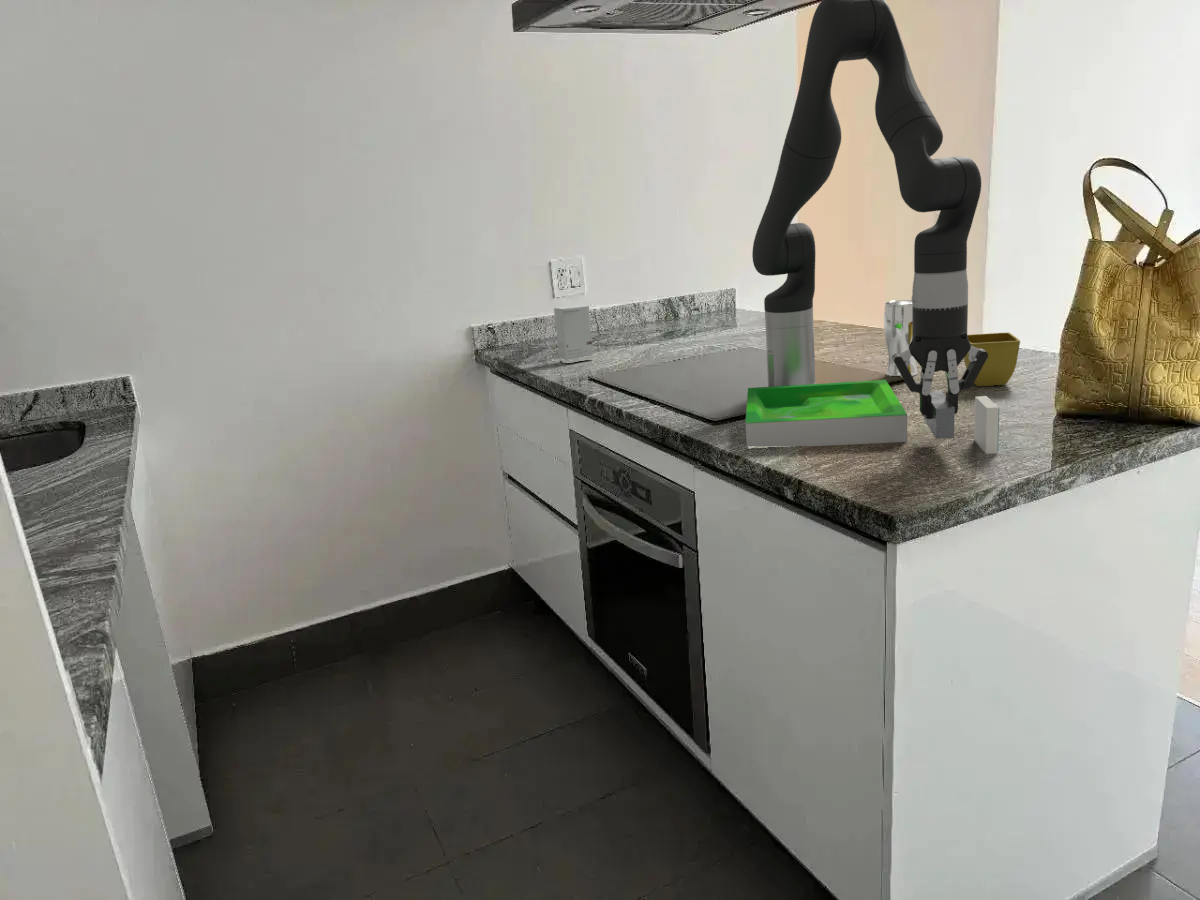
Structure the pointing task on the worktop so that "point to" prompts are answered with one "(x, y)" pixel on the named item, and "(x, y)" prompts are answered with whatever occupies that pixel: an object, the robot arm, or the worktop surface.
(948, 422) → the gray rectangular block
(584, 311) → the skincare box
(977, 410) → the tile
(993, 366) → the flower pot
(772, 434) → the tray
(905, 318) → the beer glass
